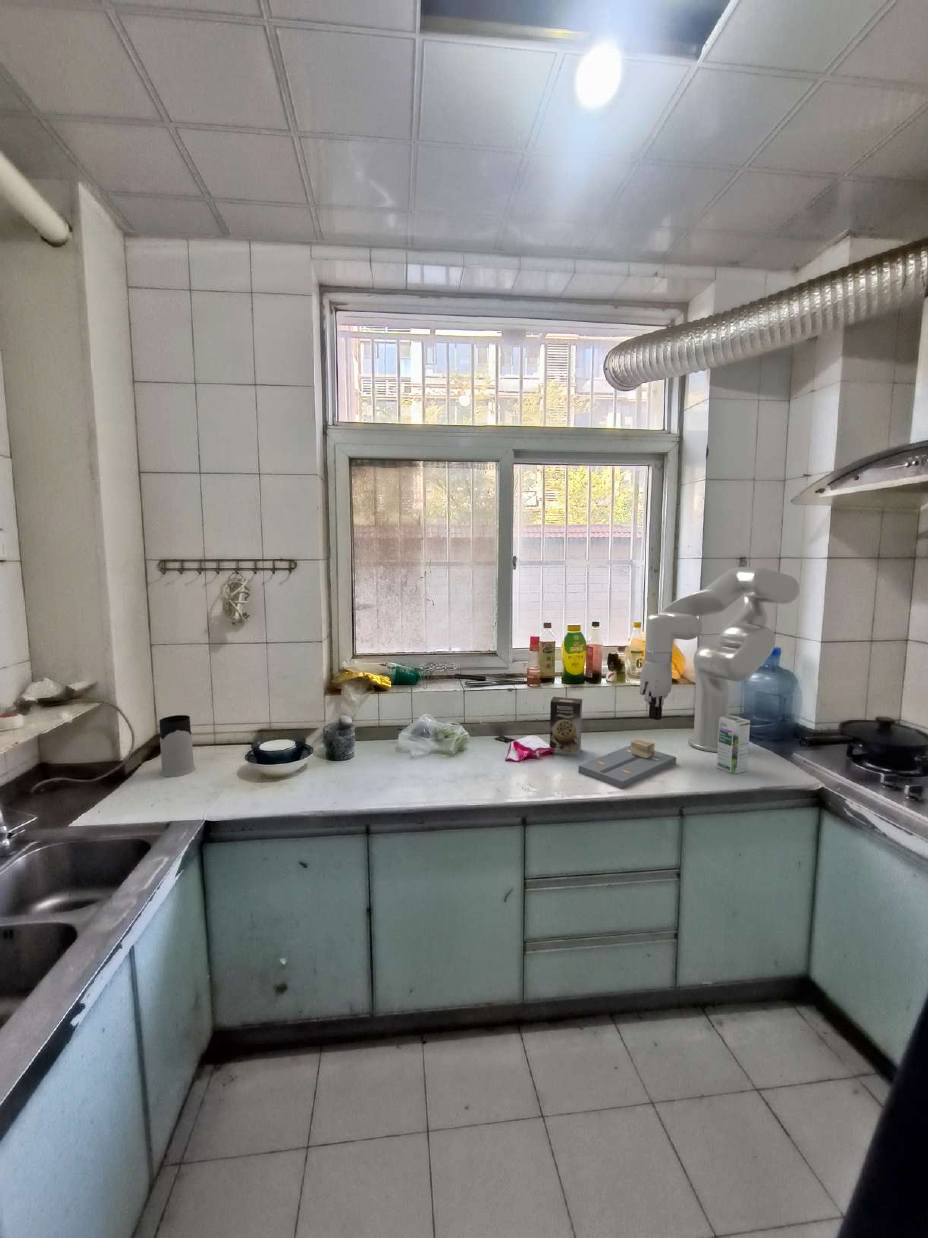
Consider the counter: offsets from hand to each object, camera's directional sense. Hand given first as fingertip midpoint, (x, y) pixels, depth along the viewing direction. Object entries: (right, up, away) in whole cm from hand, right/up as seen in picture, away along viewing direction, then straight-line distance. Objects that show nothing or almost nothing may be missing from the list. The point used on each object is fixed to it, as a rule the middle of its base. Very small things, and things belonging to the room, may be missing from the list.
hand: (655, 718), depth 157 cm
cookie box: (-25, -11, +6) cm, 28 cm away
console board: (-10, -12, -7) cm, 18 cm away
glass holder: (-138, -13, -4) cm, 138 cm away
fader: (-5, -10, -3) cm, 11 cm away
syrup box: (+18, -13, -9) cm, 24 cm away
